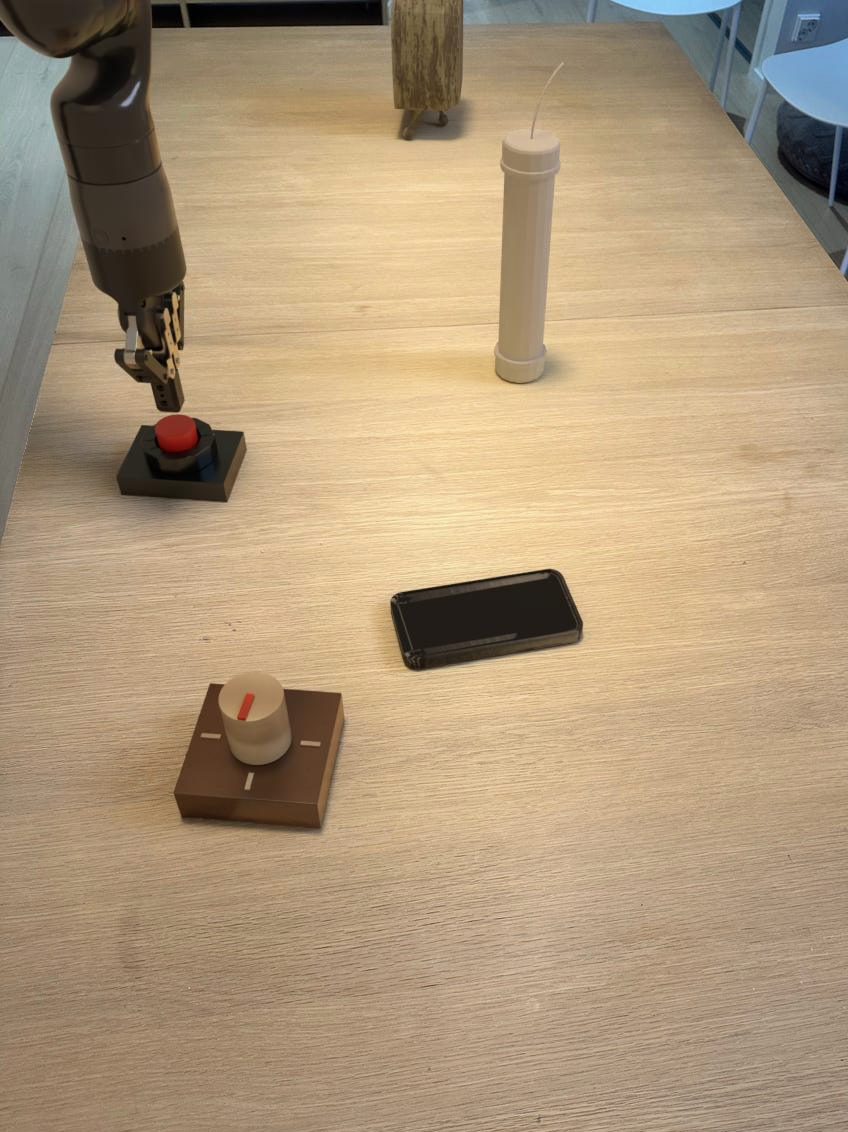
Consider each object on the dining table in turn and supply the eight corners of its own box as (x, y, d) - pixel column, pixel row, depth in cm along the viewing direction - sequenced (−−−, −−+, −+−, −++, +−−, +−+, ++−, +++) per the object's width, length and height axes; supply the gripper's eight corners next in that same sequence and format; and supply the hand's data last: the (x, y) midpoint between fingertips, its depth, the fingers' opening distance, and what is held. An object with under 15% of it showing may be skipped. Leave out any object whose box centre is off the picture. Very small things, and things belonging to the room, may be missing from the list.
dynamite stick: (482, 368, 114) (490, 68, 91) (525, 348, 116) (542, 52, 94) (518, 391, 111) (534, 87, 89) (560, 369, 114) (586, 70, 92)
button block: (121, 495, 98) (110, 460, 95) (146, 443, 104) (137, 409, 101) (227, 502, 98) (220, 468, 95) (247, 449, 103) (241, 415, 100)
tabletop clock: (403, 104, 162) (398, -89, 143) (462, 106, 162) (464, -86, 143) (395, 144, 152) (387, -58, 134) (457, 146, 152) (459, -56, 134)
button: (153, 451, 97) (149, 436, 96) (164, 428, 99) (161, 412, 98) (192, 454, 97) (188, 438, 95) (202, 430, 99) (199, 415, 98)
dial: (240, 712, 77) (228, 664, 73) (298, 720, 77) (290, 672, 73) (221, 761, 74) (208, 713, 70) (282, 769, 74) (272, 722, 70)
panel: (180, 817, 75) (172, 792, 72) (216, 707, 81) (209, 681, 79) (321, 828, 74) (316, 803, 72) (344, 717, 81) (341, 691, 79)
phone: (387, 594, 88) (559, 566, 91) (388, 603, 89) (558, 576, 92) (406, 663, 83) (587, 631, 86) (406, 672, 84) (586, 641, 87)
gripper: (151, 267, 78) (194, 455, 91) (196, 187, 87) (229, 368, 100) (51, 262, 79) (108, 450, 91) (106, 182, 87) (151, 364, 100)
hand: (171, 407), depth 96 cm, fingers closed
